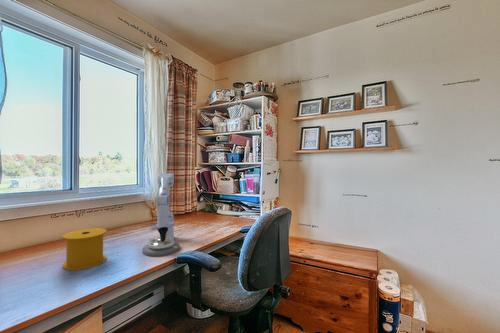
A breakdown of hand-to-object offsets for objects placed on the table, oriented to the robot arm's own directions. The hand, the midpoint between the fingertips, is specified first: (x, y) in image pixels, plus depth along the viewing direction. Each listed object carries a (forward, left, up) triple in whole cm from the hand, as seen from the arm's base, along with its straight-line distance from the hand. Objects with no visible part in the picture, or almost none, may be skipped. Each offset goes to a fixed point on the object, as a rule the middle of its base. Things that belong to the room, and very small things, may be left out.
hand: (162, 240), depth 129 cm
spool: (+18, -31, -7) cm, 37 cm away
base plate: (-5, -3, -7) cm, 9 cm away
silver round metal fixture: (-5, -4, -5) cm, 8 cm away
